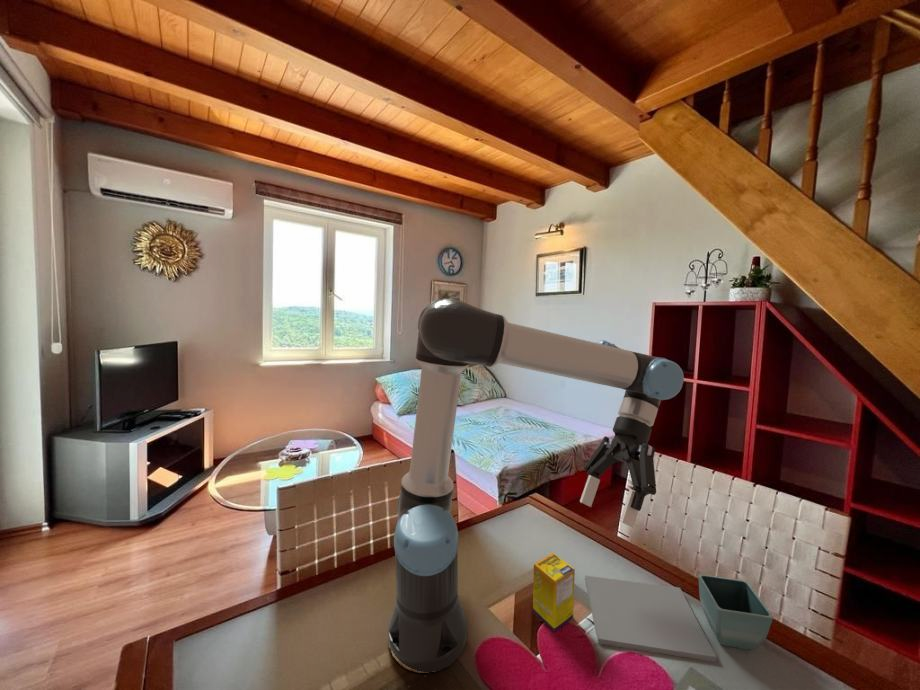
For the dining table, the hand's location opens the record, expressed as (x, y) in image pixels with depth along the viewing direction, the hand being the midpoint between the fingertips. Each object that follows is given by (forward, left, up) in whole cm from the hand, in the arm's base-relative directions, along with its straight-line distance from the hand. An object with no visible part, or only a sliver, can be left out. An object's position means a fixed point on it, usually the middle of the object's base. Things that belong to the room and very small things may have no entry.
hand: (604, 513), depth 78 cm
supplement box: (-11, -7, -19) cm, 23 cm away
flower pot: (+22, -6, -19) cm, 30 cm away
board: (+7, -4, -19) cm, 21 cm away
